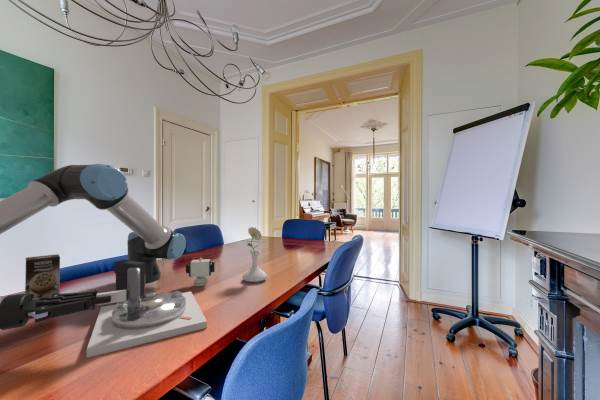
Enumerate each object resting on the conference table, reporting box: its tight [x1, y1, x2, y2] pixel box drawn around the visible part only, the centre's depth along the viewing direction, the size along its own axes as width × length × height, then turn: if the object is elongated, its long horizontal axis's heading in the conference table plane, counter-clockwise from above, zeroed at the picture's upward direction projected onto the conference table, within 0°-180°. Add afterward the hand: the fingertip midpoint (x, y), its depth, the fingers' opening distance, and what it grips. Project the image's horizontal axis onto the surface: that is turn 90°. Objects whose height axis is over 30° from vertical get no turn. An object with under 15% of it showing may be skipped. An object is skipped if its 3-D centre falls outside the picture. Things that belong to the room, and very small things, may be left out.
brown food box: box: [24, 253, 61, 300], centre depth 96 cm, size 9×6×16 cm
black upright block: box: [113, 259, 146, 300], centre depth 95 cm, size 11×4×15 cm, turn 71°
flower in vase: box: [242, 226, 268, 283], centre depth 122 cm, size 13×11×25 cm
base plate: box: [86, 291, 208, 358], centre depth 81 cm, size 28×28×2 cm
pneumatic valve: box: [185, 257, 216, 287], centre depth 114 cm, size 6×12×12 cm, turn 101°
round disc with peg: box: [112, 267, 186, 329], centre depth 81 cm, size 20×20×16 cm
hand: (126, 295), depth 71 cm, fingers closed
